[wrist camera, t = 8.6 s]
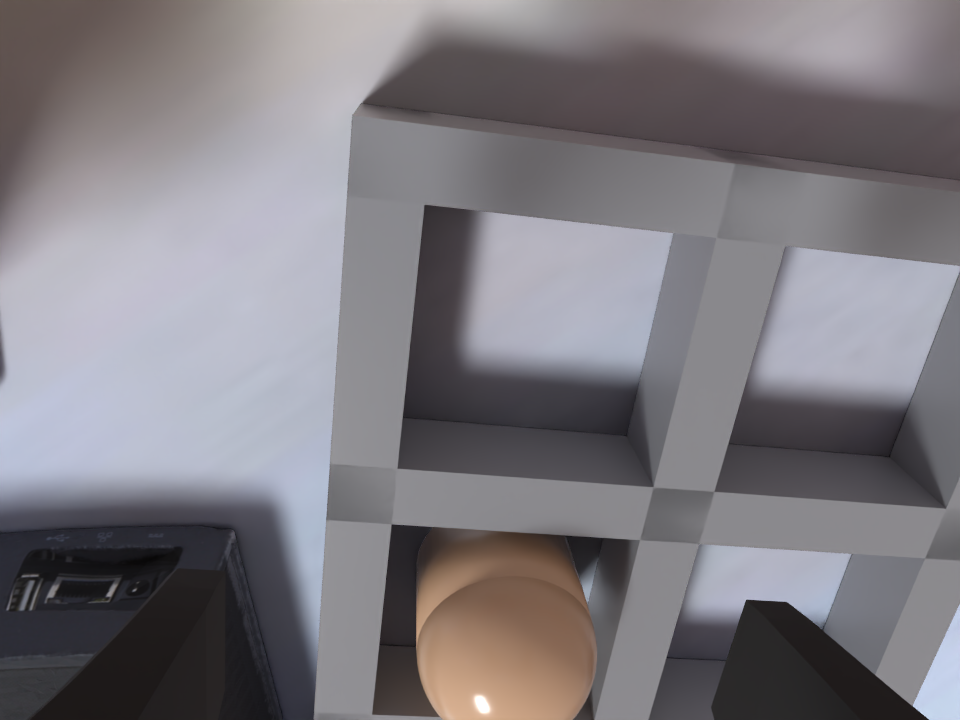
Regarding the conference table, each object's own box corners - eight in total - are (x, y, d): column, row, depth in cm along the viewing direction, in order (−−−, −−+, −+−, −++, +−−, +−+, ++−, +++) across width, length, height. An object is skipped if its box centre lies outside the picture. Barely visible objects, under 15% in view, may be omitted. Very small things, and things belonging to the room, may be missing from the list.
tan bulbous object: (408, 622, 22) (406, 790, 17) (425, 493, 21) (428, 639, 16) (556, 630, 23) (595, 795, 18) (584, 505, 21) (635, 650, 16)
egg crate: (775, 857, 28) (807, 932, 26) (310, 851, 26) (299, 931, 24) (1050, 192, 19) (1139, 214, 16) (361, 103, 17) (352, 115, 14)
